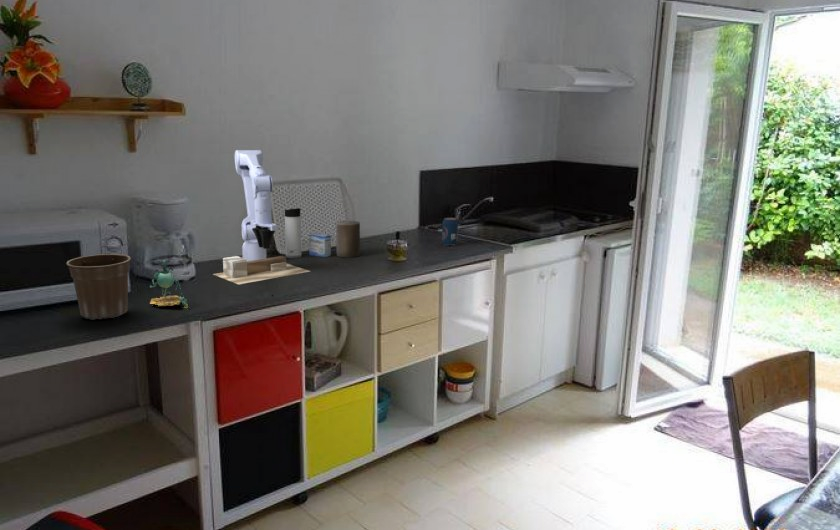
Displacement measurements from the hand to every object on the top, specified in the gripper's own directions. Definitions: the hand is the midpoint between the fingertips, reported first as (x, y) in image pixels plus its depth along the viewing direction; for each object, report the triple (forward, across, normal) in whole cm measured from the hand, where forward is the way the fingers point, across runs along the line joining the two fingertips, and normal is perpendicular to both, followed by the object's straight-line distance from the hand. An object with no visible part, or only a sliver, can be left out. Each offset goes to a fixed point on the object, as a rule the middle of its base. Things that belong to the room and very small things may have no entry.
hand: (264, 247), depth 239 cm
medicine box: (+10, -12, +33) cm, 36 cm away
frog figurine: (+10, +16, -43) cm, 47 cm away
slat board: (+9, +2, -2) cm, 10 cm away
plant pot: (+10, +14, -61) cm, 63 cm away
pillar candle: (+10, -5, +42) cm, 43 cm away
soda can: (+10, +6, +91) cm, 92 cm away
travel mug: (+10, -16, +23) cm, 30 cm away
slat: (+8, 0, 0) cm, 8 cm away
